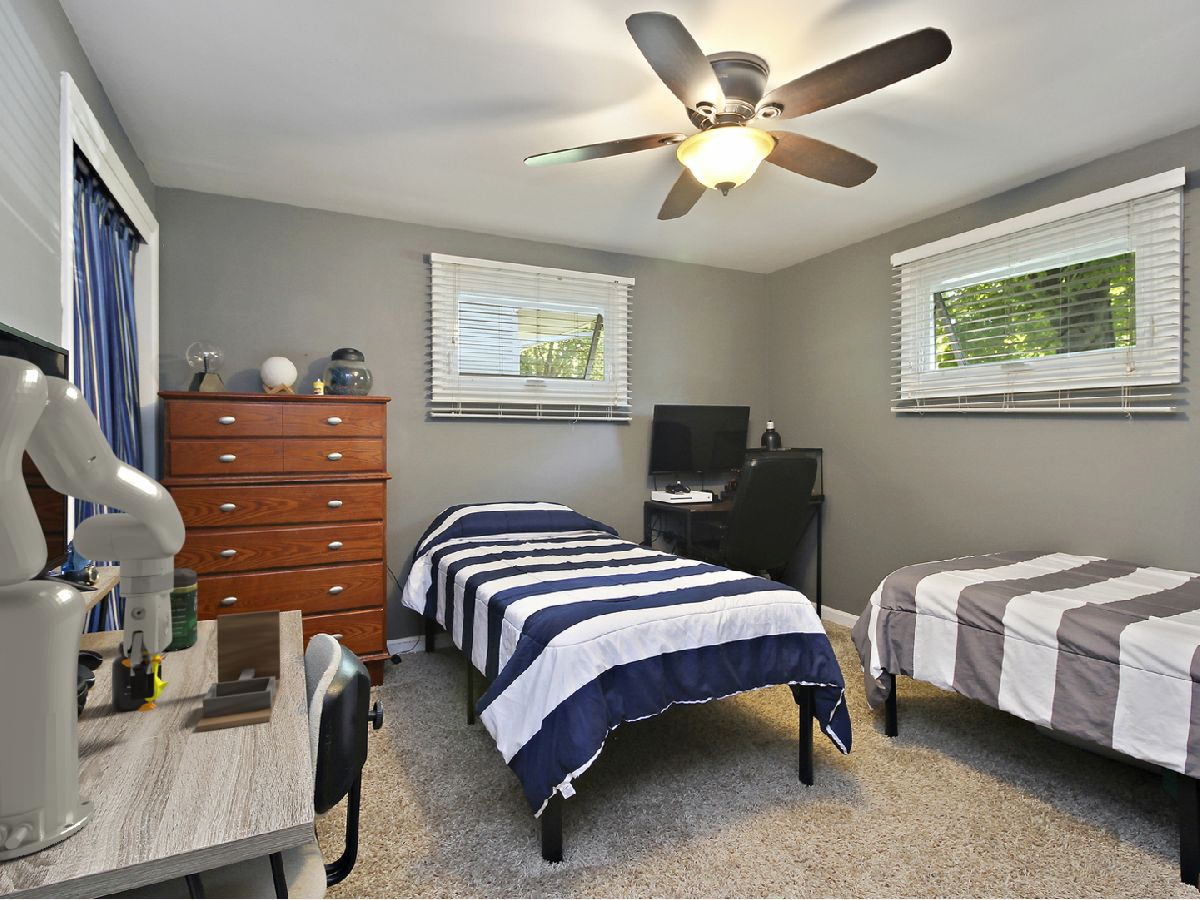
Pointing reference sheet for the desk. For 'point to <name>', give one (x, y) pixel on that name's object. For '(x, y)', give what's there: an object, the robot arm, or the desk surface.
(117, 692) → the supplement bottle
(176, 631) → the coffee jar
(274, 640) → the open wooden box
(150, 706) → the toy figure
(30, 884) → the desk surface
